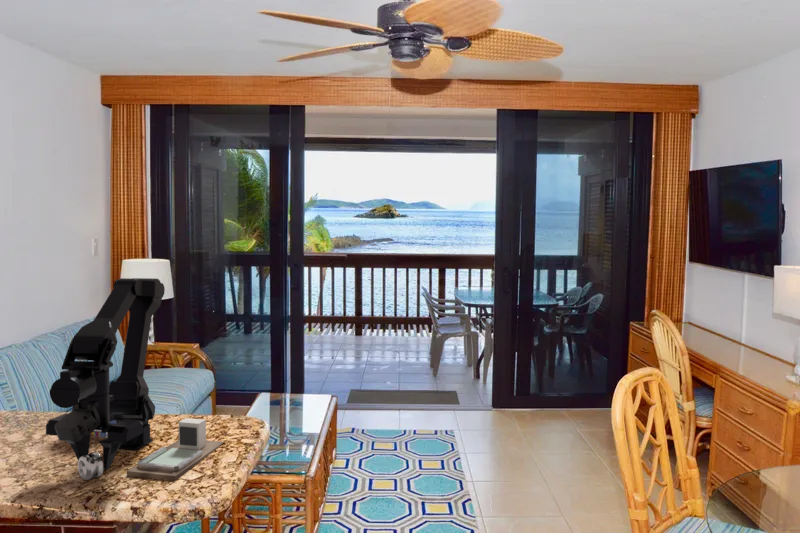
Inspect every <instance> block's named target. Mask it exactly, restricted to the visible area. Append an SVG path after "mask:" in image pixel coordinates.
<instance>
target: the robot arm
mask: <svg viewBox="0 0 800 533" xmlns="http://www.w3.org/2000/svg"><path fill="white" fill-rule="evenodd" d="M165 290H166V289H165V285H164V283H162V282H161V280H160V279H159V278H152V277H151V278H144V277H141V278H138V277H135V278H134V277H133V278H130V277H129V278H127V277H126V278H124V277H123V278H122V277H121V278H118V279H115V281H114V283H113V288H112V289H111V292H110V293H109V295H108V297H107V298H106V300H105V301H104V303H103V304H102V306H101V308H99V309H100V310H99V311H98V313H97V314H96V316H95V318H93V320H92V321H90V322H88V323H86V324H85V325H82V327H80V329H78V331H77V332H76V333H75V334H74V336H73V337H72V338H71V341H70V343H69V345H68V349H67V351H66V354H65V357H64V360H63V362H62V365H61V370H62V371H60V372H59V378H58V379H57V380H55V381H54V382H53V383H52V384H51V387H50V389H49V397H50V400H51V402H52V403H53V404H54V405H55V406H56V407H59V408H62V409H69V408H71V407H72V408H71V411H70V412H69V413H64V414H61V415H58V416H56V417H53V418H51V419H49V420H48V421H47V423H46V425H45V435H48V436H56V437H57V439H58V440H59V441H61V442H63V441H64V442H66V443H68V444H70V446H71V448H72V450H73V452H74V455H75V456H76V459H77V461H79V458H80V457H81V456H82V455H89V454H90V445H91V444H90V443H91V436H92V435H91V433H92V432H101V433H106V436H105V438H103V439H101V440H98V443H99V445H100V446H102V461H103V471H108V470H109V469H110V468H111V466H112V464H113V461H114V459H115V457H116V455H117V453H118V451H119V449H121V450H123V449H124V450H134V451H135V450H136V451H137V450H138V449H141V448H143V447H144V446H147V444H150V443H151V442H153V441H154V439H153V438H151V424H150V423H149V421H150V420H153V419H154V418H155V417H154V416H155V414H156V405H155V404H154V402H153V400H151V397H150V396H149V390H150V388H149V387H148V384H147V382H146V380H145V378H144V371H145V366H146V359H147V351H148V346H149V336H150V330H151V323H152V318H153V315H154V314H155V313H156V312H157V311H158V309H159V308H160V307H161V306H162V301H163V300H162V299H163V297H164V295H165V292H166V291H165ZM128 311H129V318H128V324H127V330H126V338H125V341H124V342H125V345H124V349H123V356H122V363H121V370H120V374H119V376H118V377H117V378H116V379H115V381H113V380H112V381H110V368H112V367H114V363H113V362H112V361H111V360H112V357H113V356H114V353H115V351H116V350H117V349H116V348H117V344H118V339H117V335H116V334H117V331H118V329H119V327H120V326H121V324H122V322H123V320H124V319H125V316H126V315H127V313H128ZM109 384H110V385H109ZM110 421H116V423H115V424H111V423H110ZM101 427H102V428H101Z"/></svg>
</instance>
